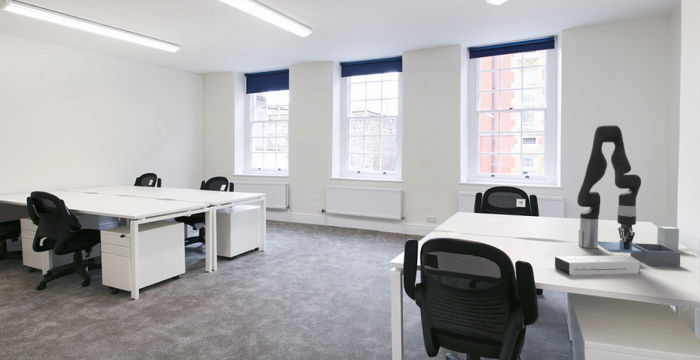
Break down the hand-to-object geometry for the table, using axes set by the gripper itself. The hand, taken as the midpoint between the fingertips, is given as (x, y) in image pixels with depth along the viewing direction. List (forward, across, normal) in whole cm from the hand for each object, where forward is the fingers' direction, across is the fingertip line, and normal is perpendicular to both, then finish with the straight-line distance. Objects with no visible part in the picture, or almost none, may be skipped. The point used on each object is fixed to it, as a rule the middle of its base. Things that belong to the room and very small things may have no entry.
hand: (625, 248), depth 192 cm
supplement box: (+8, -42, +37) cm, 56 cm away
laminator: (+9, +14, -18) cm, 24 cm away
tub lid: (+3, -10, 0) cm, 10 cm away
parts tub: (+8, -11, +17) cm, 22 cm away
